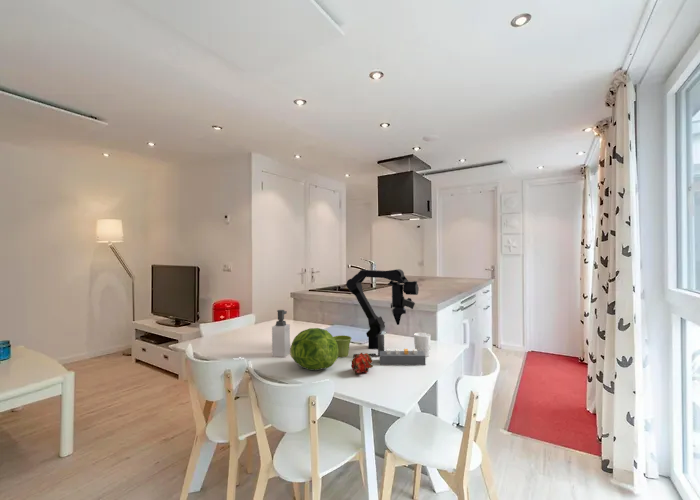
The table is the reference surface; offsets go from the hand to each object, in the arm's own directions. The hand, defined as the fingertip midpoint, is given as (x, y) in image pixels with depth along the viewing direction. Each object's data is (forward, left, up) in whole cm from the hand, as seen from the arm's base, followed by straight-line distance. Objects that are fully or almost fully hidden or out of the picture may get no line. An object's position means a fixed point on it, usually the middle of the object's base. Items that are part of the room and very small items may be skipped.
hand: (398, 324), depth 169 cm
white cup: (+11, -7, -13) cm, 19 cm away
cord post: (-9, -9, -13) cm, 18 cm away
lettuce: (-40, -25, -13) cm, 49 cm away
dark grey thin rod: (-17, -10, -13) cm, 24 cm away
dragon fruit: (-18, -31, -13) cm, 38 cm away
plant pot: (-28, -9, -13) cm, 32 cm away
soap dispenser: (-58, -7, -13) cm, 60 cm away
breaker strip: (0, -18, -13) cm, 22 cm away
